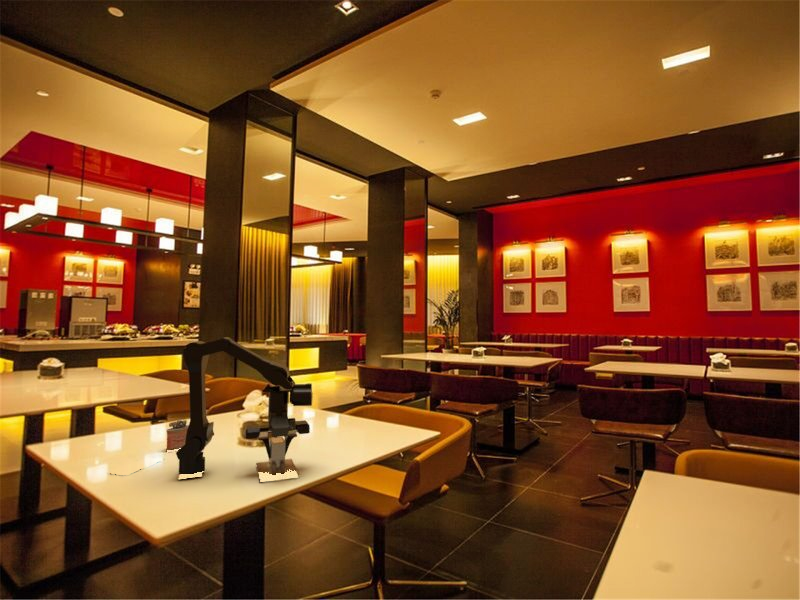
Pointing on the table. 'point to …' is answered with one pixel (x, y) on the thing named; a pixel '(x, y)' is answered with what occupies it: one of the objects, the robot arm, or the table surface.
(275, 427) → the robot arm
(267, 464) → the pin tray
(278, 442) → the block
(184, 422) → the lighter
